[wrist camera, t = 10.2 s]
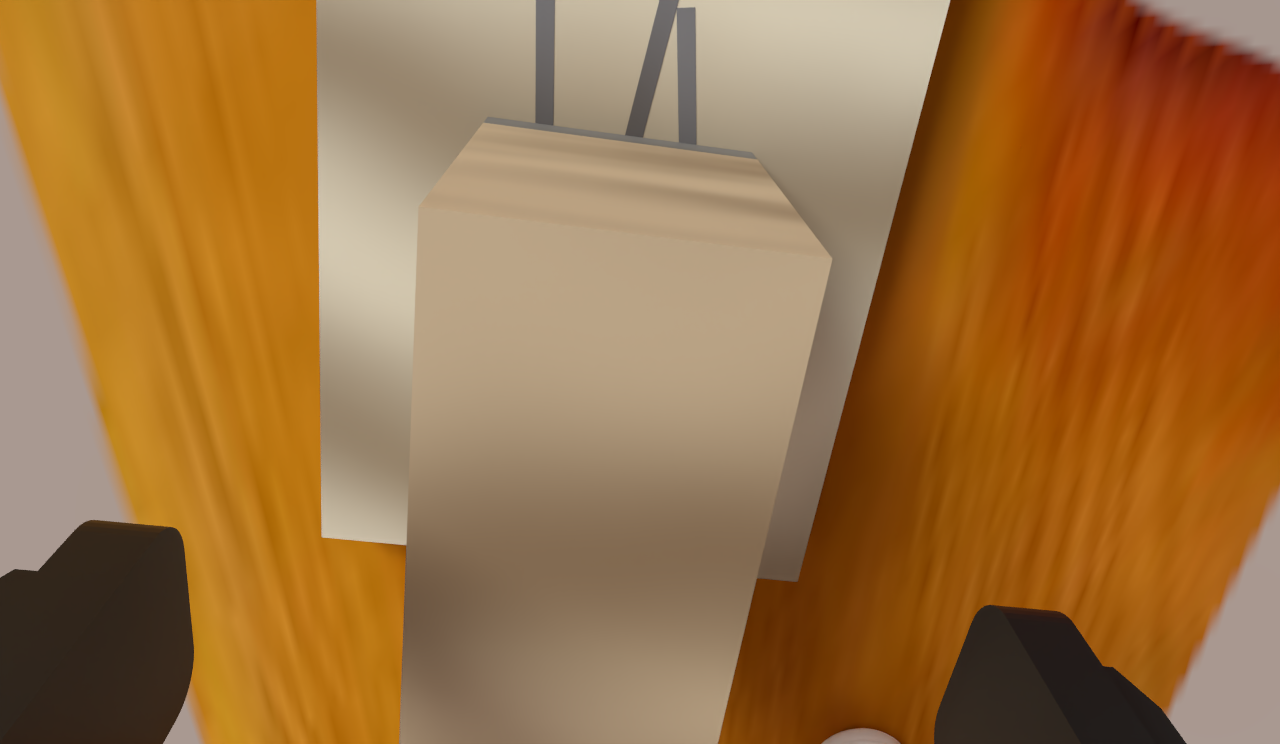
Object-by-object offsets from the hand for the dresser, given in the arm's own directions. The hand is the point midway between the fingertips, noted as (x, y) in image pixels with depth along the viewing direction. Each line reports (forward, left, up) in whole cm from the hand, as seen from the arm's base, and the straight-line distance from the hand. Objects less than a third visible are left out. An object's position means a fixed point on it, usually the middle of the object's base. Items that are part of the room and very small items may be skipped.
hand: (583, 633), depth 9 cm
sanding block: (0, 0, -8) cm, 8 cm away
